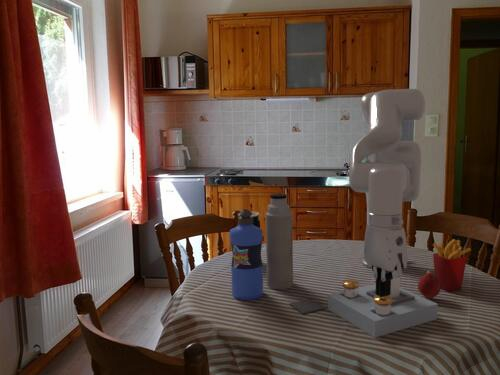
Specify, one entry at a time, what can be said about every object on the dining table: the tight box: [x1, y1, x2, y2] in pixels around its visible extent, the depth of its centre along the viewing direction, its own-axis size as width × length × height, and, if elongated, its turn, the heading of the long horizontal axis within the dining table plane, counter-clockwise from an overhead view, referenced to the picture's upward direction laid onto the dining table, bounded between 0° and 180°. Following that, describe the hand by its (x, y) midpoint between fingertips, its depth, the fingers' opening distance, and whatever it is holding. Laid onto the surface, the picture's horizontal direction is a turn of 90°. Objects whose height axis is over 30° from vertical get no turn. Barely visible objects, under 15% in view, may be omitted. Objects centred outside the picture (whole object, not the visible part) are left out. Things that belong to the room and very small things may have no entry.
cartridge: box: [387, 272, 401, 300], centre depth 116 cm, size 5×5×15 cm
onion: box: [417, 270, 442, 300], centre depth 123 cm, size 6×6×8 cm
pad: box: [288, 298, 326, 315], centre depth 121 cm, size 7×7×1 cm
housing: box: [327, 283, 439, 339], centre depth 115 cm, size 20×18×5 cm
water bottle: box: [229, 208, 264, 301], centre depth 129 cm, size 9×9×25 cm
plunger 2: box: [374, 295, 392, 317], centre depth 107 cm, size 4×4×7 cm
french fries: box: [432, 238, 472, 293], centre depth 130 cm, size 9×8×15 cm
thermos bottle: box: [265, 193, 294, 290], centre depth 136 cm, size 8×8×28 cm
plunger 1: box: [341, 279, 360, 300], centre depth 118 cm, size 4×4×7 cm
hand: (383, 294), depth 107 cm, fingers closed
